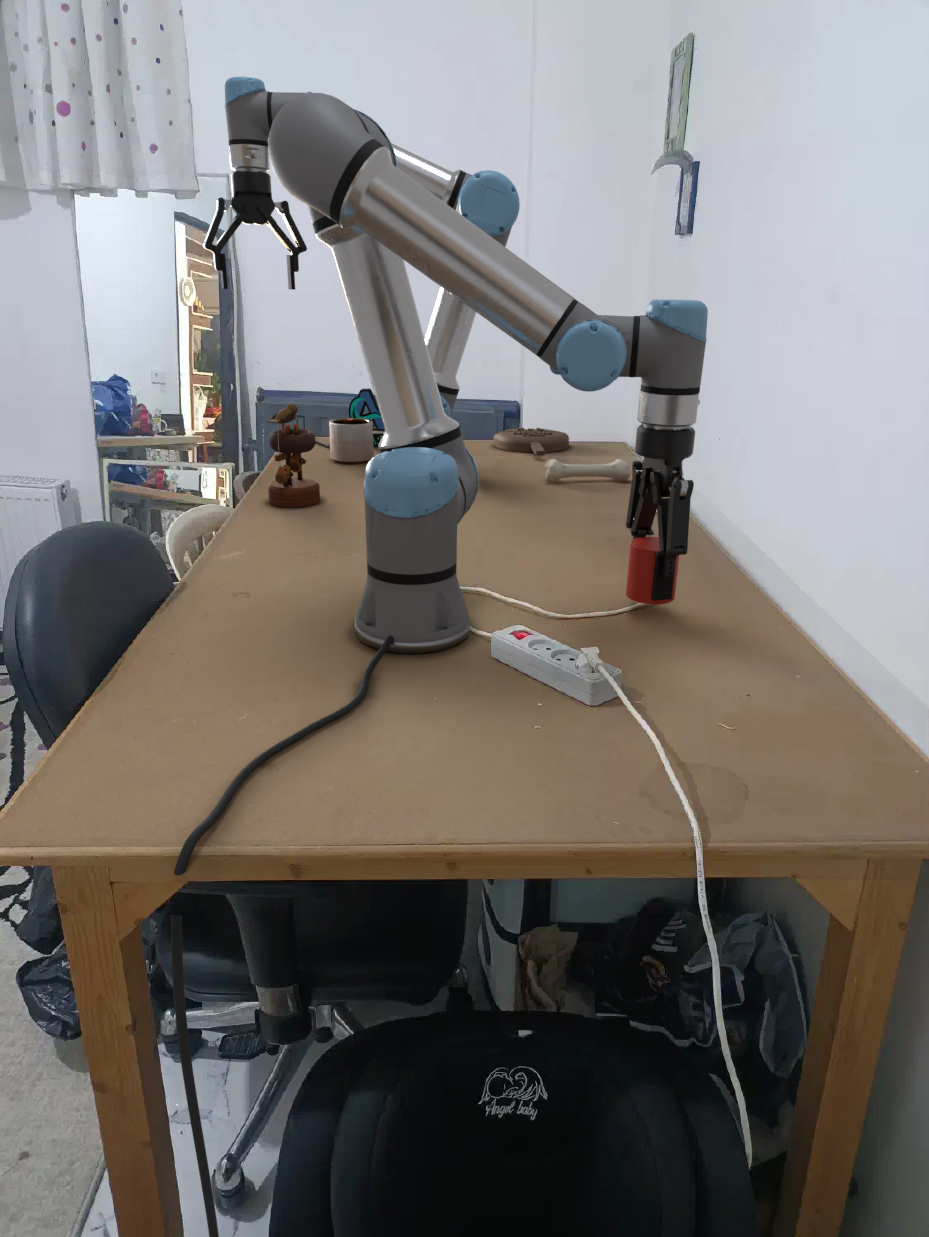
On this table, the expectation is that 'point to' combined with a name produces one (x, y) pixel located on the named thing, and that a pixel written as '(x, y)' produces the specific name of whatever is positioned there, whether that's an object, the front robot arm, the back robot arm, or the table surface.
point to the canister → (644, 570)
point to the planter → (351, 440)
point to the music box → (291, 462)
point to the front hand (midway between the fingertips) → (649, 589)
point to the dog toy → (587, 470)
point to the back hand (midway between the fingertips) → (258, 289)
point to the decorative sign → (369, 401)
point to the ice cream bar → (531, 440)
